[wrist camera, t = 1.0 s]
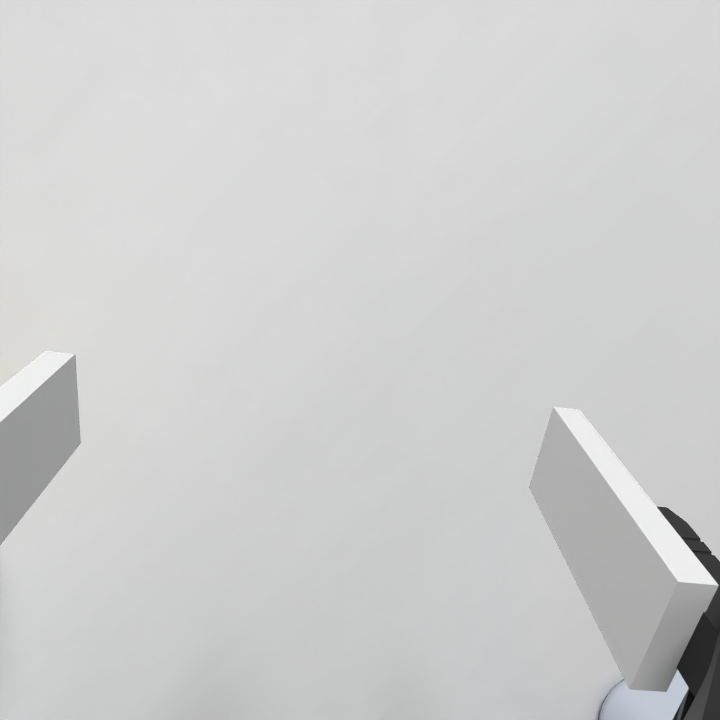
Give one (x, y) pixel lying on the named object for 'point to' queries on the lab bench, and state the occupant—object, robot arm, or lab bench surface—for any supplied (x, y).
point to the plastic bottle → (644, 702)
